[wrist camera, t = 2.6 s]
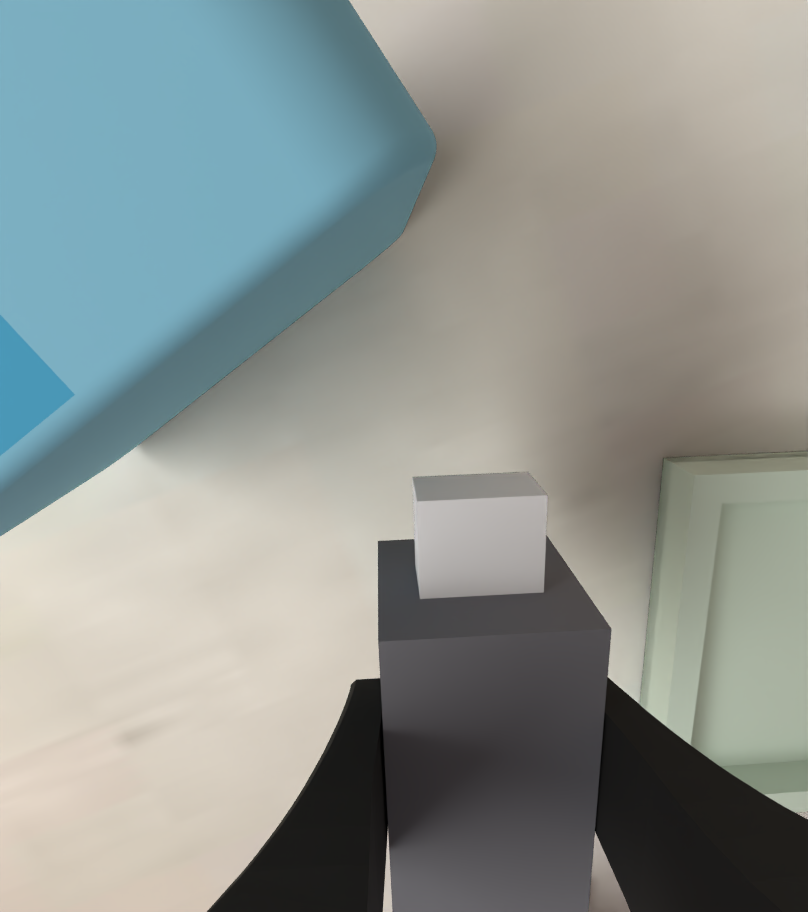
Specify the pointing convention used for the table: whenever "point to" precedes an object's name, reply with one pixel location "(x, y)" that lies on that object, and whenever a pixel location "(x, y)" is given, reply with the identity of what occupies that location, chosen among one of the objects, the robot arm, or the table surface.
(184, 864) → the table surface
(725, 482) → the tray
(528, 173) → the table surface
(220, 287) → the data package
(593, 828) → the plug
